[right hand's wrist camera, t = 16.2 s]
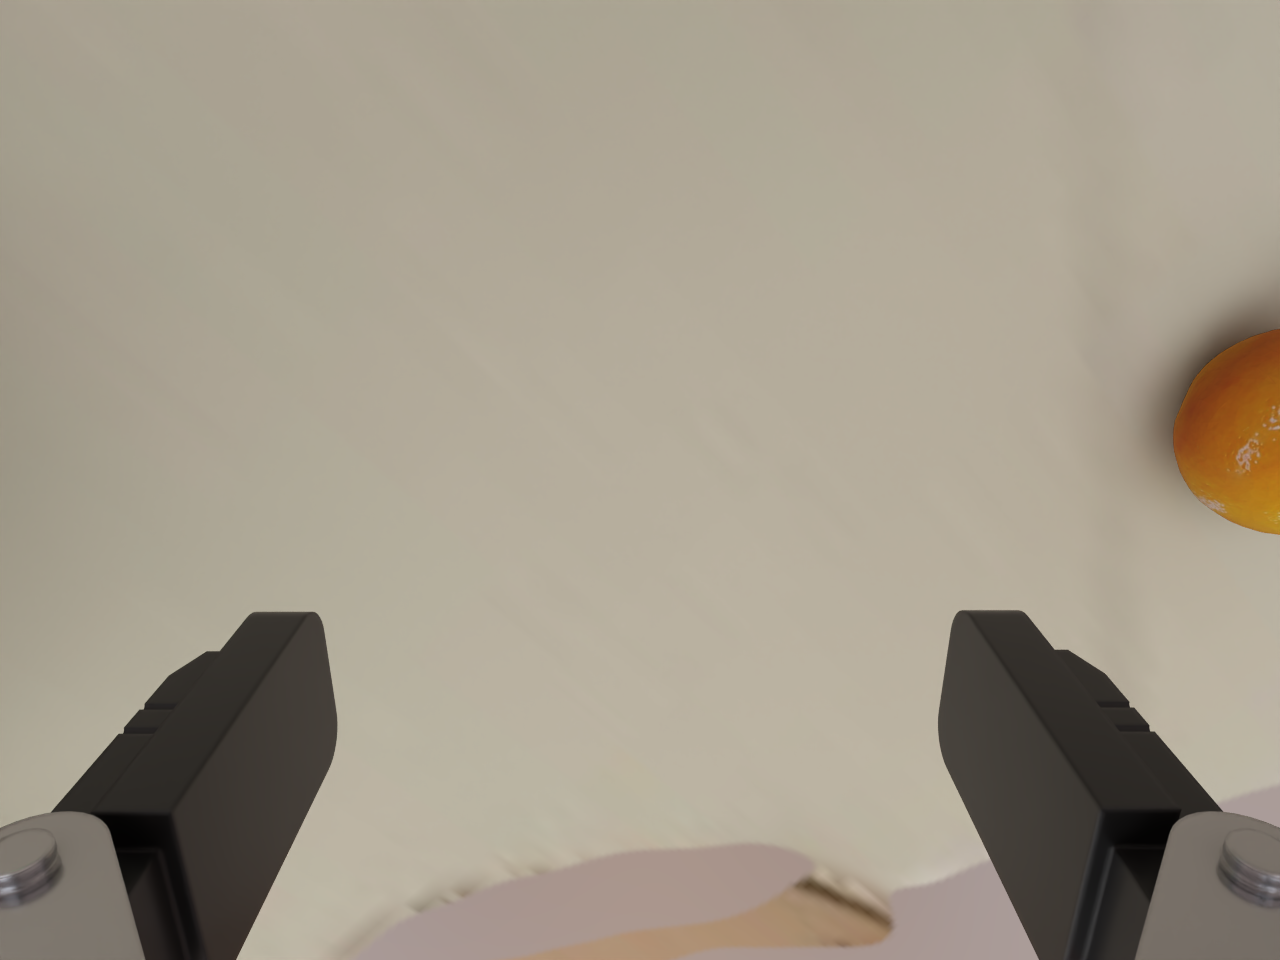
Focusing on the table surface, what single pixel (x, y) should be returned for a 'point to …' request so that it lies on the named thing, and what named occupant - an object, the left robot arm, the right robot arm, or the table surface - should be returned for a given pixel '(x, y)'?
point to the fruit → (1235, 434)
